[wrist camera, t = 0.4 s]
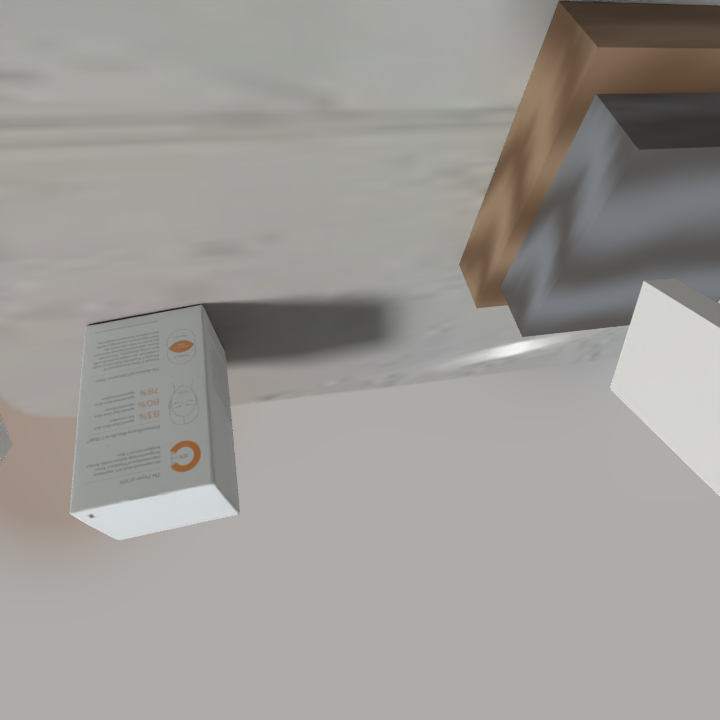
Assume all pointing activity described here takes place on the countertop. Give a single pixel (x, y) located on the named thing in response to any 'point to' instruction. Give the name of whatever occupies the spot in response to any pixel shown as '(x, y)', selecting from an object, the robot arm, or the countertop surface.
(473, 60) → the countertop surface
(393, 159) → the countertop surface
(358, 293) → the countertop surface
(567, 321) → the stepped display pedestal
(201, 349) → the small box
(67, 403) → the countertop surface
